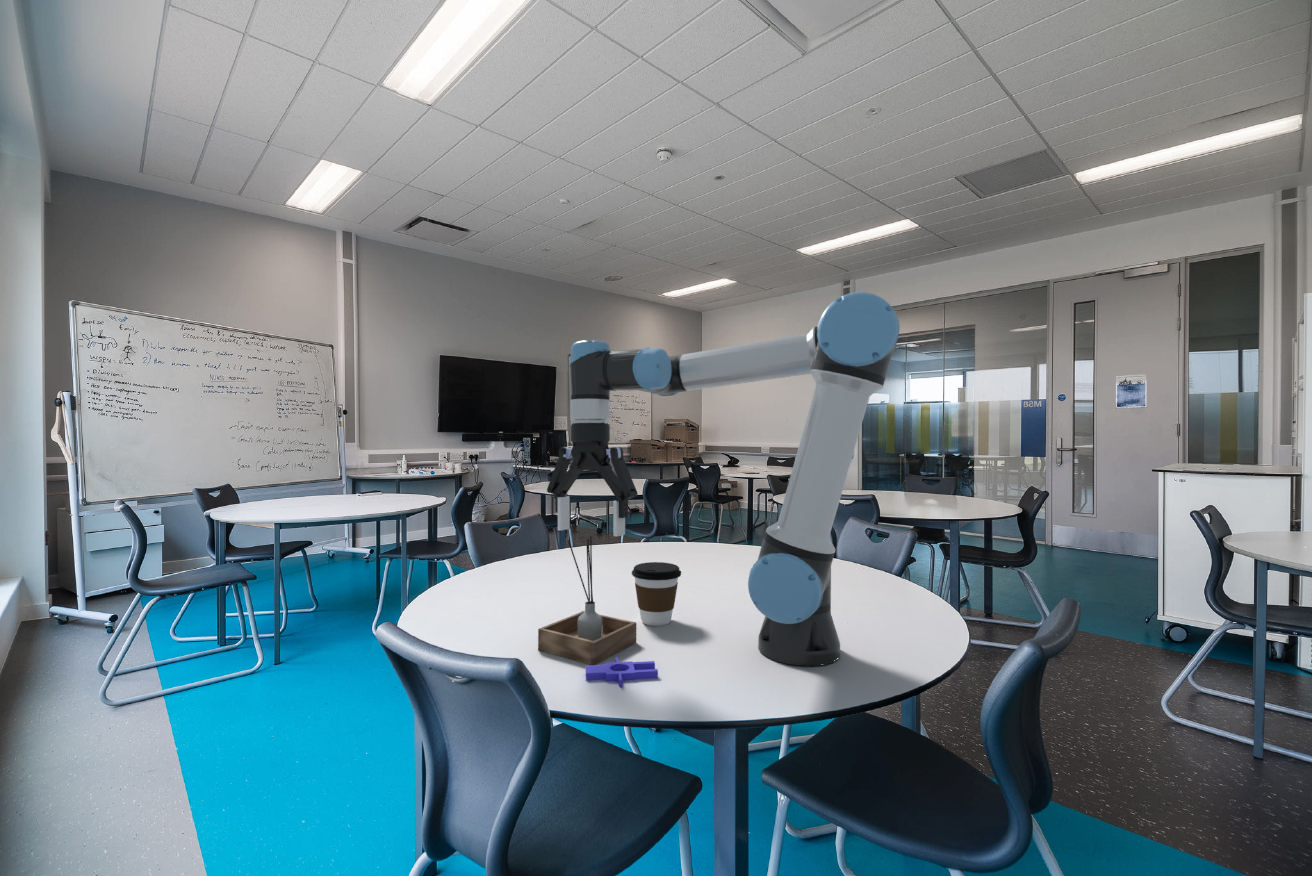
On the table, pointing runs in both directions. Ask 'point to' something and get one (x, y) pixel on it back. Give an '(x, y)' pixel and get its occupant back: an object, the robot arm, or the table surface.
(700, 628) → the table surface
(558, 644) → the tray
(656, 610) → the coffee cup
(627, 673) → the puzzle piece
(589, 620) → the reed diffuser
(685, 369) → the robot arm
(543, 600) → the table surface
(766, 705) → the table surface
